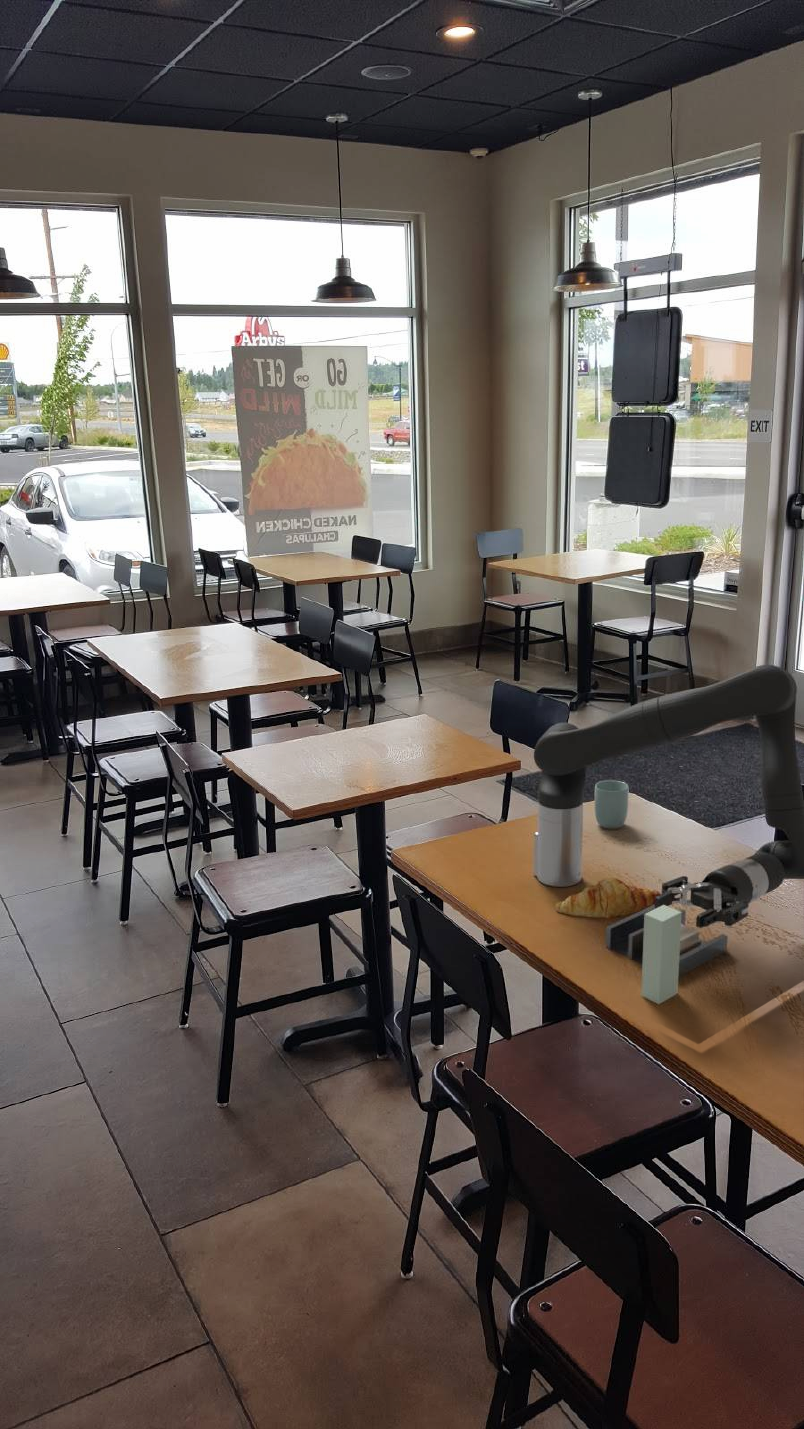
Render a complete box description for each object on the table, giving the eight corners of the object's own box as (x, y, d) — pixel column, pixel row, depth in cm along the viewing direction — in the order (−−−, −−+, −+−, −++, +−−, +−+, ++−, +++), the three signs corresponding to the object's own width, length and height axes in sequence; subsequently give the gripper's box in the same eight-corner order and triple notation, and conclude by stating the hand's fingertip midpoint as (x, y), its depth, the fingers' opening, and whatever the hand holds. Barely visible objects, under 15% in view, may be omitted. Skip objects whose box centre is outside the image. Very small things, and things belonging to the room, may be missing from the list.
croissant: (560, 939, 209) (566, 914, 204) (546, 897, 216) (551, 872, 211) (664, 925, 212) (672, 901, 207) (647, 884, 219) (654, 860, 214)
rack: (605, 951, 197) (606, 924, 195) (658, 926, 206) (659, 899, 204) (673, 984, 185) (674, 955, 184) (726, 955, 194) (728, 928, 193)
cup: (627, 832, 250) (628, 792, 247) (593, 831, 251) (594, 790, 248) (627, 820, 257) (629, 780, 254) (594, 818, 258) (595, 779, 256)
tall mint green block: (641, 1000, 181) (644, 914, 176) (659, 990, 184) (663, 904, 179) (658, 1009, 178) (662, 921, 173) (677, 998, 181) (681, 912, 176)
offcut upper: (652, 944, 193) (653, 934, 192) (677, 932, 197) (678, 922, 196) (673, 954, 189) (674, 944, 189) (698, 941, 193) (699, 931, 193)
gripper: (703, 852, 193) (644, 878, 183) (773, 878, 182) (714, 907, 173) (701, 891, 195) (642, 918, 186) (770, 919, 184) (711, 949, 175)
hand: (677, 912), depth 179 cm, fingers open, 8 cm apart
